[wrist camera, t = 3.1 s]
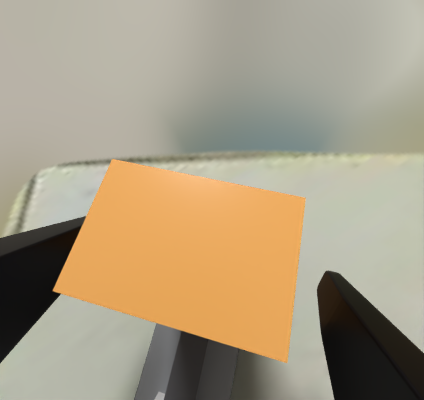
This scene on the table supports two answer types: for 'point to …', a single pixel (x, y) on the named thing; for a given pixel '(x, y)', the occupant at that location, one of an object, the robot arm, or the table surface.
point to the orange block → (191, 256)
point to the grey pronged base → (186, 367)
